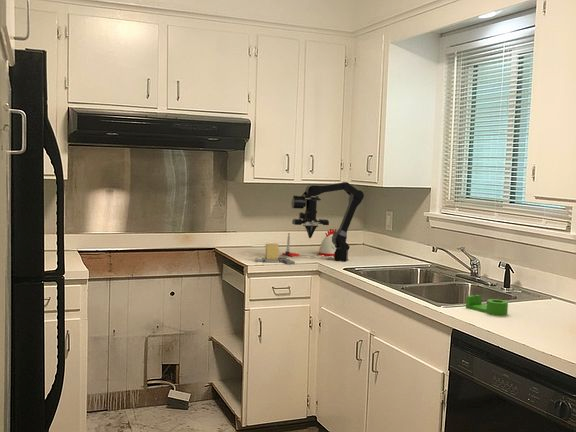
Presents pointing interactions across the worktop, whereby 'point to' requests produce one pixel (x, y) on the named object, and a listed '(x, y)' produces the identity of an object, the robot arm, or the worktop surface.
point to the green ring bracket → (492, 305)
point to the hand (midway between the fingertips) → (309, 238)
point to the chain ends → (281, 260)
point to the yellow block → (271, 251)
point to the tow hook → (288, 249)
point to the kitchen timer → (327, 245)
